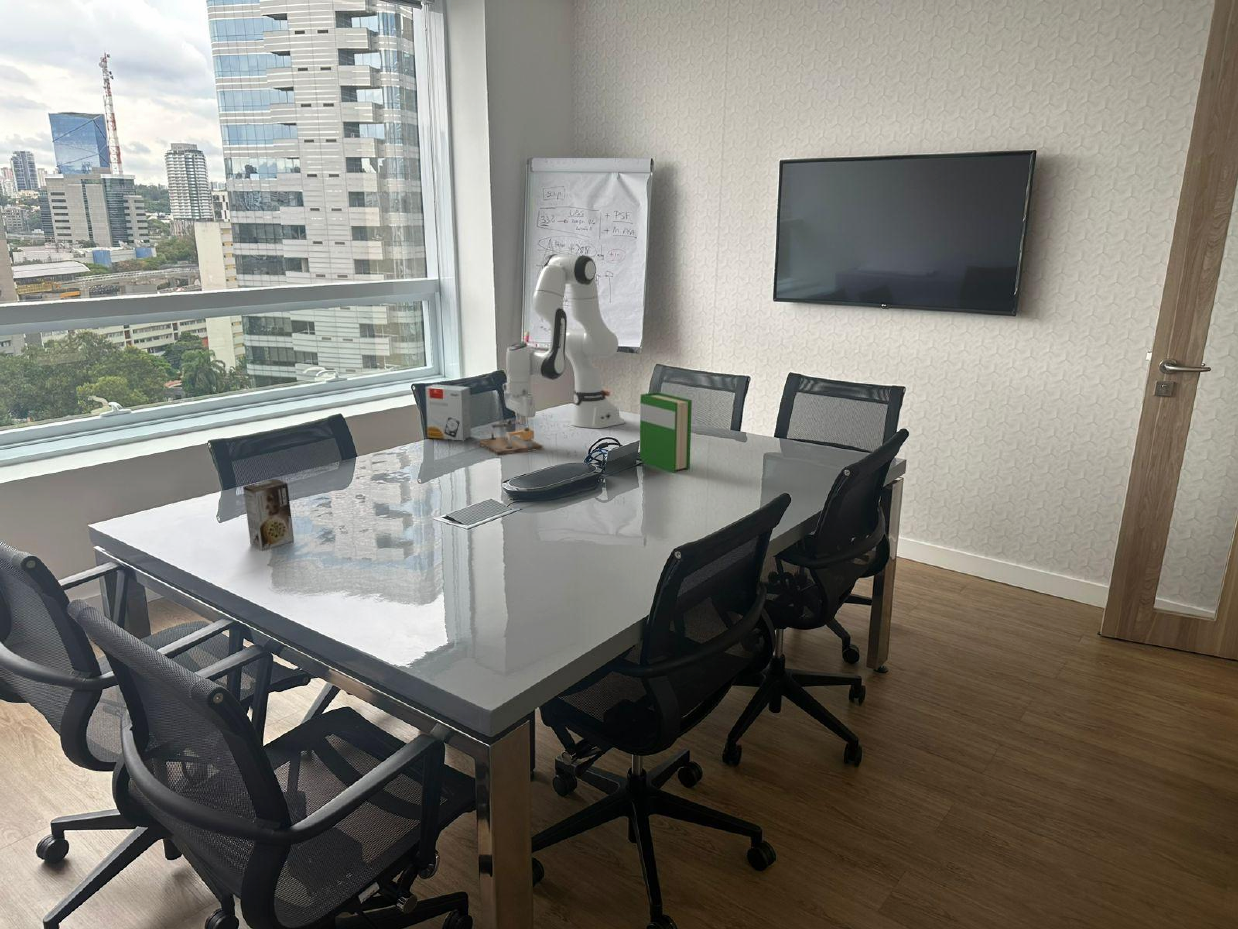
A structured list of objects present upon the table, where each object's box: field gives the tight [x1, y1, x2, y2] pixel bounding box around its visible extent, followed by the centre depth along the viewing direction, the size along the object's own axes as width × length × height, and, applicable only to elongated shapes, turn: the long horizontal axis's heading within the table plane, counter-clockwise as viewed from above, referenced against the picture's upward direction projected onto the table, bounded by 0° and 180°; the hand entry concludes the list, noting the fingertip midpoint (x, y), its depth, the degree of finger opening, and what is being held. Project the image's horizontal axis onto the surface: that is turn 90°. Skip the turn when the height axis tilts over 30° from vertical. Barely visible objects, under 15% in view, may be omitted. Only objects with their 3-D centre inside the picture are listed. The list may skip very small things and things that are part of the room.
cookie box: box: [243, 478, 295, 552], centre depth 223 cm, size 9×6×16 cm
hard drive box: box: [424, 383, 472, 442], centre depth 333 cm, size 16×8×20 cm, turn 73°
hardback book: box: [639, 391, 693, 474], centre depth 295 cm, size 18×7×24 cm, turn 39°
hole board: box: [475, 435, 543, 456], centre depth 323 cm, size 18×20×1 cm
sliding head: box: [508, 427, 535, 447], centre depth 317 cm, size 9×4×6 cm, turn 120°
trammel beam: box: [490, 419, 533, 447], centre depth 323 cm, size 9×19×6 cm, turn 30°
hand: (520, 424), depth 323 cm, fingers closed
